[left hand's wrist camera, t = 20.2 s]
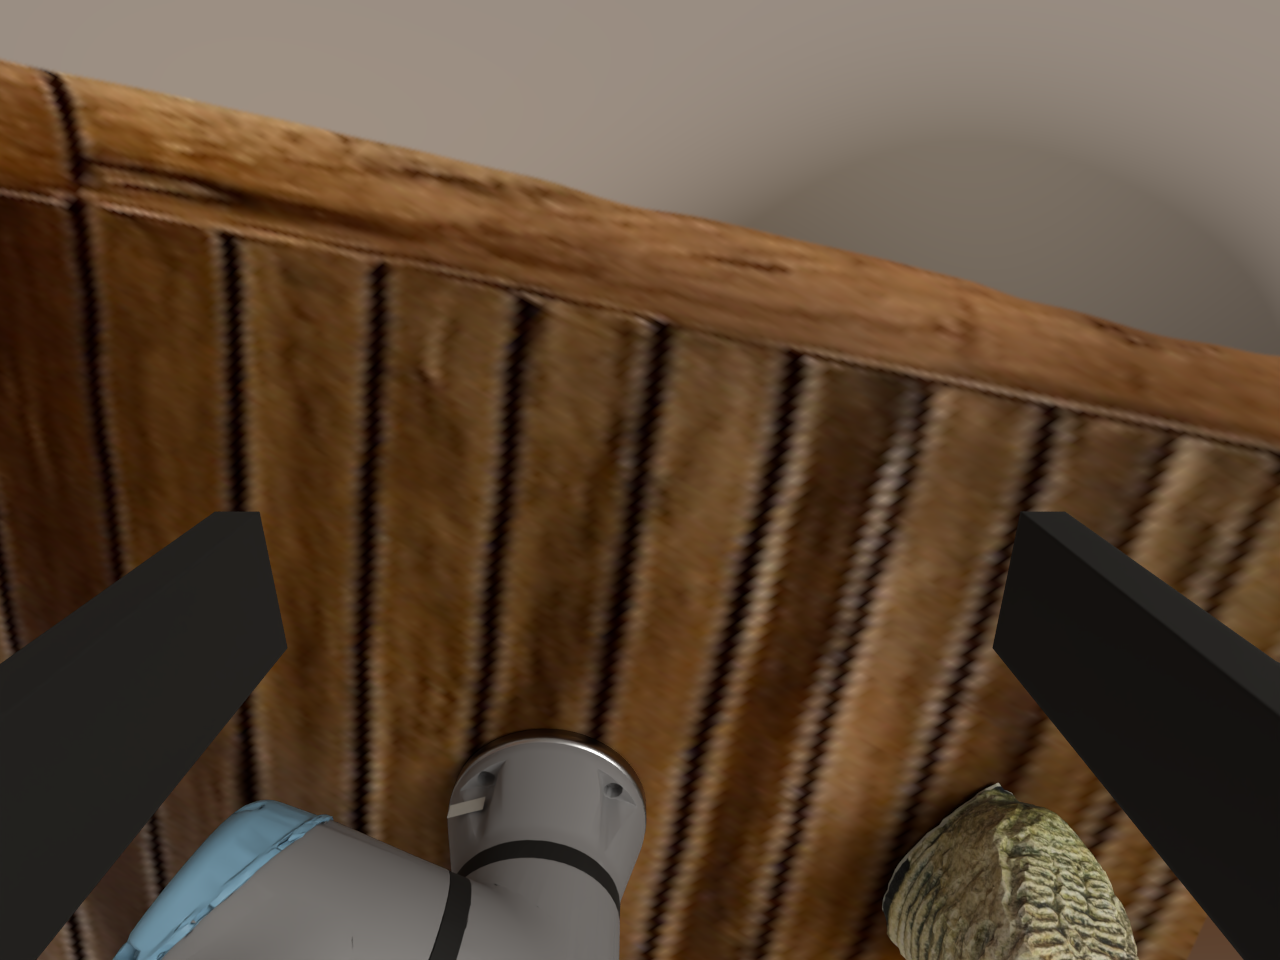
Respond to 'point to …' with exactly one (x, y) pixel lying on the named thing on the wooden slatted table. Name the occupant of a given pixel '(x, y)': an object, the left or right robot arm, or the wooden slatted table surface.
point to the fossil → (1004, 890)
